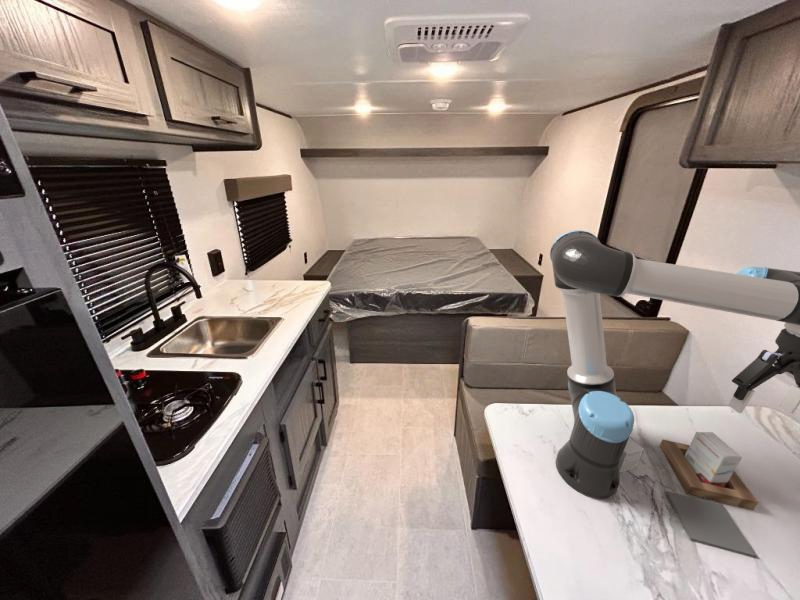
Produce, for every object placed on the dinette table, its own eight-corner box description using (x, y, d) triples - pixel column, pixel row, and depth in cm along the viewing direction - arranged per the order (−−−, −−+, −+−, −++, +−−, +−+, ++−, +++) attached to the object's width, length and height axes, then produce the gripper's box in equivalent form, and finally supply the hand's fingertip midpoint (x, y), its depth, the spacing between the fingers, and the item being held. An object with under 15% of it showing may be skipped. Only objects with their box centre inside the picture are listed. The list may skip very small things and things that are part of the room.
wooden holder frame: (686, 494, 82) (690, 486, 81) (659, 446, 97) (662, 439, 95) (753, 510, 79) (758, 502, 78) (714, 458, 93) (719, 451, 92)
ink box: (724, 490, 84) (744, 457, 79) (706, 489, 84) (724, 457, 79) (697, 462, 92) (713, 431, 87) (680, 462, 92) (695, 430, 87)
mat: (690, 540, 72) (691, 538, 72) (665, 492, 83) (666, 490, 82) (755, 557, 69) (757, 556, 69) (721, 506, 80) (722, 504, 79)
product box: (618, 473, 88) (626, 453, 85) (600, 455, 93) (607, 436, 90) (635, 468, 89) (644, 449, 86) (617, 451, 95) (624, 432, 92)
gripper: (775, 342, 66) (728, 420, 74) (882, 344, 68) (825, 420, 76) (738, 325, 73) (699, 398, 81) (836, 327, 75) (788, 399, 83)
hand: (760, 409), depth 79 cm, fingers open, 13 cm apart
